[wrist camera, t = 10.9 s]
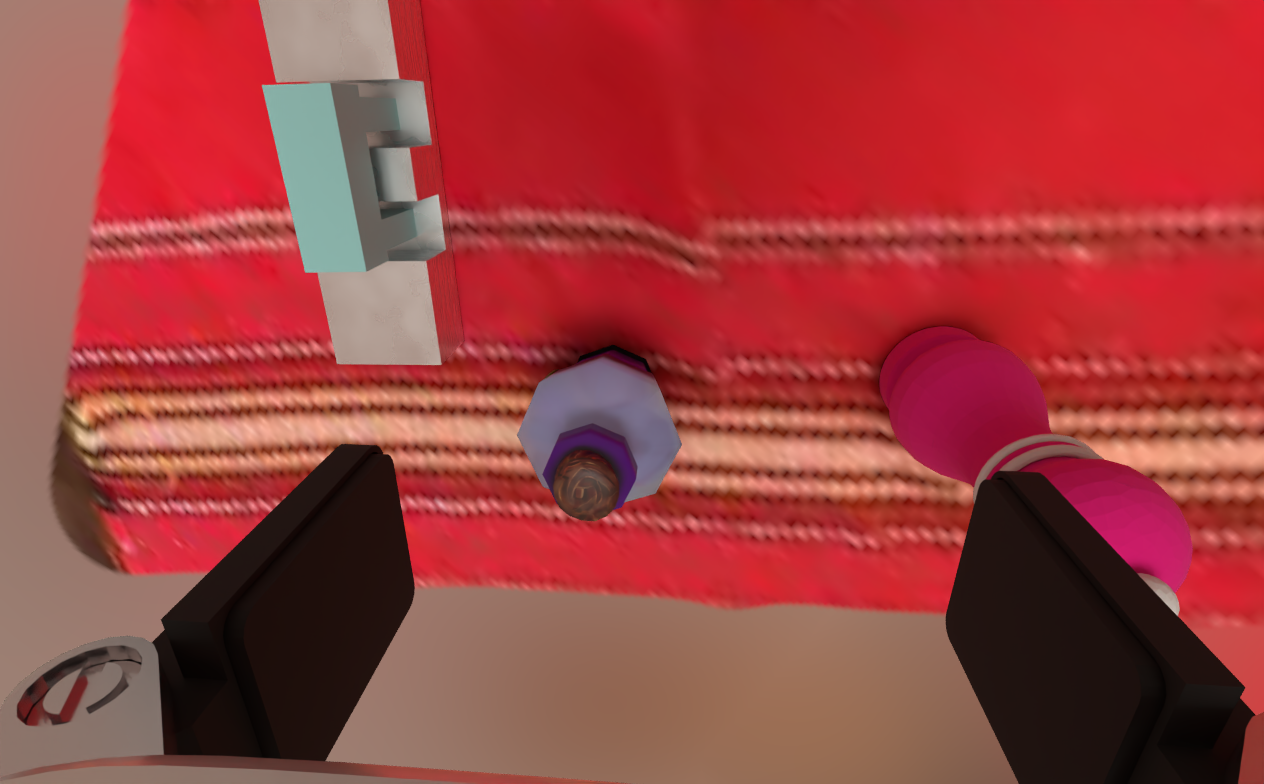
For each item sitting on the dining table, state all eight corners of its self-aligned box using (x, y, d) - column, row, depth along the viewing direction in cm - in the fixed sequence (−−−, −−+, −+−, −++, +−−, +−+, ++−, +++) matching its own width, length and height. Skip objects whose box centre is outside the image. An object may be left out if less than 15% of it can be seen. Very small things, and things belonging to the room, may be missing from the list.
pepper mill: (844, 380, 39) (985, 623, 20) (942, 291, 36) (1205, 477, 18) (925, 452, 40) (1125, 740, 22) (1025, 371, 38) (1346, 620, 19)
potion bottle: (541, 317, 38) (483, 400, 28) (686, 324, 38) (686, 410, 27) (545, 445, 42) (496, 564, 31) (679, 453, 41) (676, 576, 30)
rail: (295, -44, 32) (244, -64, 28) (413, -49, 31) (377, -70, 28) (369, 340, 40) (337, 363, 36) (464, 341, 39) (441, 364, 36)
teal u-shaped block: (337, 89, 33) (261, 85, 27) (393, 87, 33) (329, 82, 27) (367, 246, 36) (305, 272, 31) (418, 245, 36) (366, 271, 30)
